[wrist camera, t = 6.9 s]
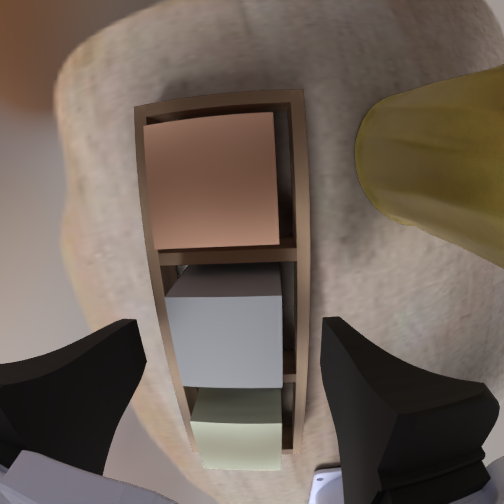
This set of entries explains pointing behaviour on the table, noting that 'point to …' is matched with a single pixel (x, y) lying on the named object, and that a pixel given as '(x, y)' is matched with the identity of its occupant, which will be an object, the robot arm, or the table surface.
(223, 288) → the grey block
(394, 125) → the vase
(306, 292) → the walnut rack
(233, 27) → the table surface
